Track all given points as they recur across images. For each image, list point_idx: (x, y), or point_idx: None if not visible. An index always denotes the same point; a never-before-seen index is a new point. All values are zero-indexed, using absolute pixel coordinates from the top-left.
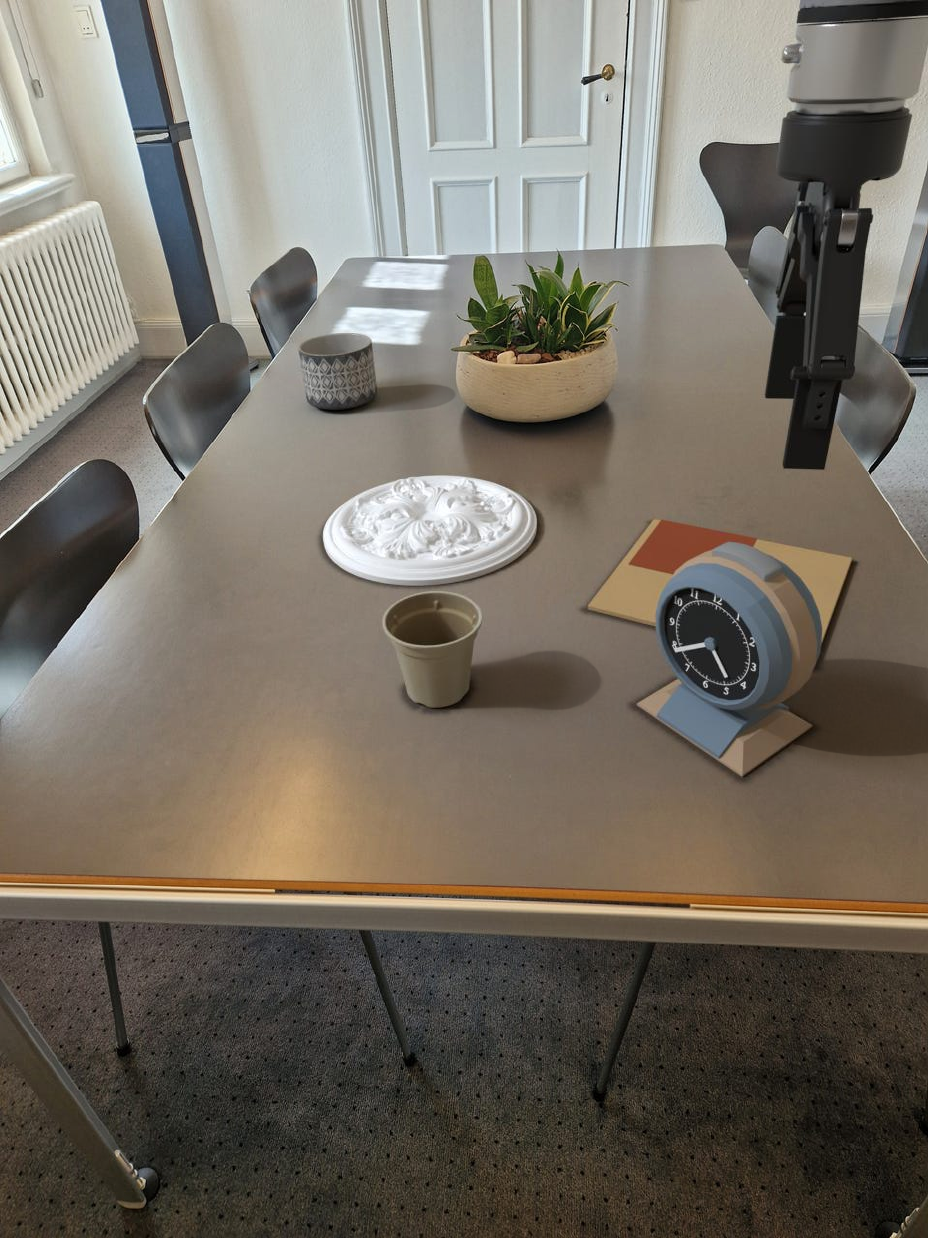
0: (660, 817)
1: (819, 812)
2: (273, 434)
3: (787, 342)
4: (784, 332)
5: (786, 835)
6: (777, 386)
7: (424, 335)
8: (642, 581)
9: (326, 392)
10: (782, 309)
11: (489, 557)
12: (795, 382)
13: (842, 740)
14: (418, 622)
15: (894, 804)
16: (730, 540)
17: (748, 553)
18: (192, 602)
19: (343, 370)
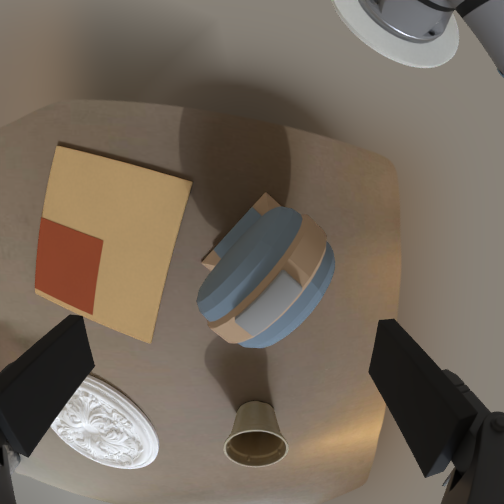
0: (355, 291)
1: (345, 199)
2: (49, 475)
3: (41, 407)
4: (33, 425)
5: (364, 222)
6: (82, 363)
7: None
8: (111, 306)
9: (14, 460)
10: (4, 452)
11: (117, 401)
12: (70, 340)
13: (276, 172)
14: (236, 445)
15: (333, 152)
16: (47, 237)
17: (273, 308)
18: (203, 498)
19: None
